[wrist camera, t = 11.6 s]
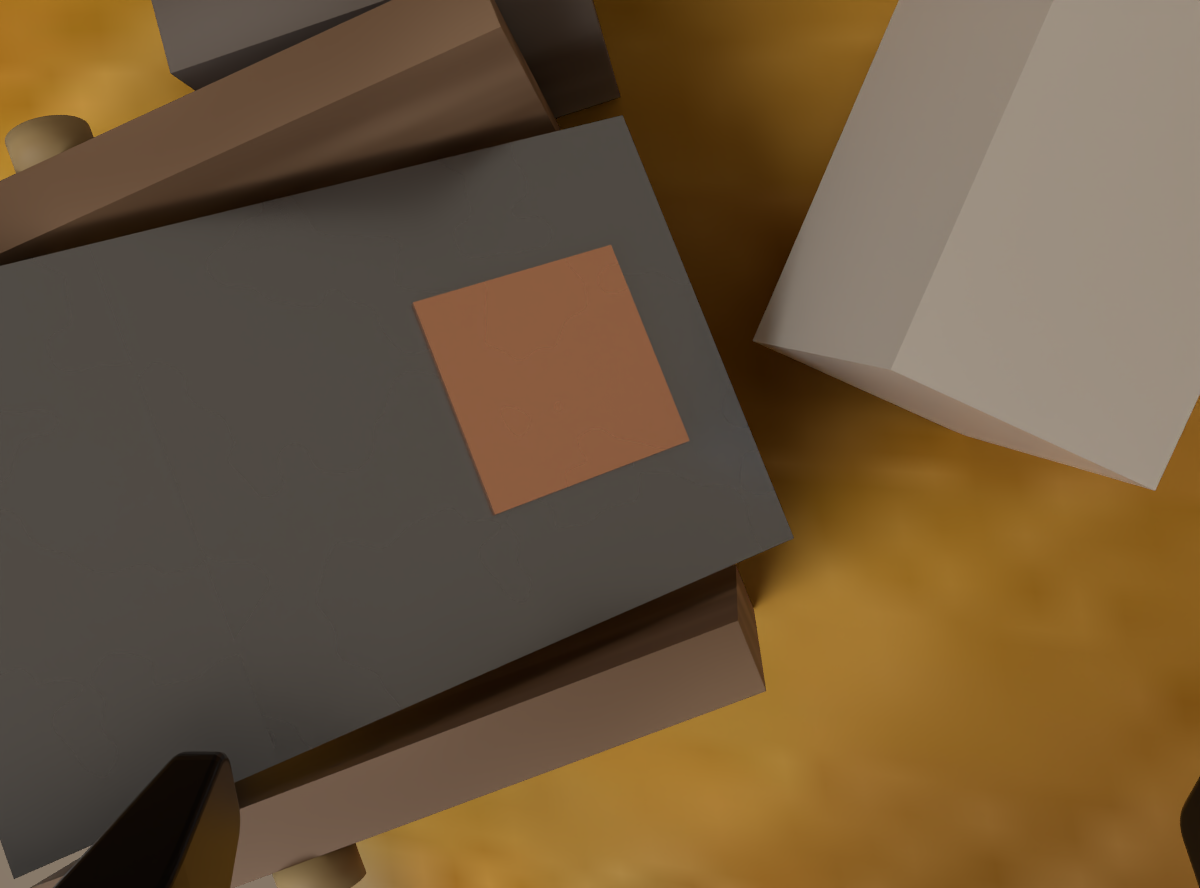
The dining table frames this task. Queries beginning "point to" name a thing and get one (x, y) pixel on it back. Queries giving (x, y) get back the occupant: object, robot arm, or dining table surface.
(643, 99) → the dining table surface
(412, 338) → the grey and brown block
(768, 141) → the dining table surface
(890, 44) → the off-white block
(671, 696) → the frame
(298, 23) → the stand
